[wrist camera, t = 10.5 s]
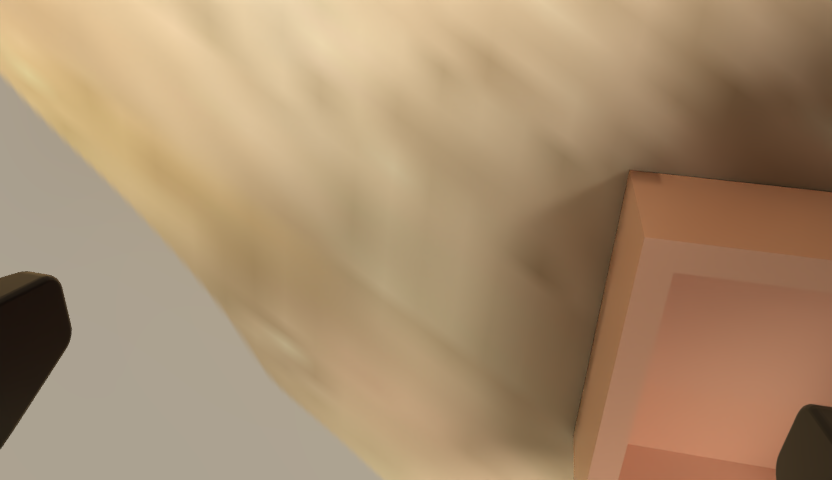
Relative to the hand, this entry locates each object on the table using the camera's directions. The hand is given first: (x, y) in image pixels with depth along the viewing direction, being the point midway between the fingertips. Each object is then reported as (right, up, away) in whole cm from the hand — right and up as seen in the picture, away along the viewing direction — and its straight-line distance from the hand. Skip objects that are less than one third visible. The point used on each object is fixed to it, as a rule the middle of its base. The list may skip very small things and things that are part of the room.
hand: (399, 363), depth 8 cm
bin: (+11, -2, +12) cm, 16 cm away
